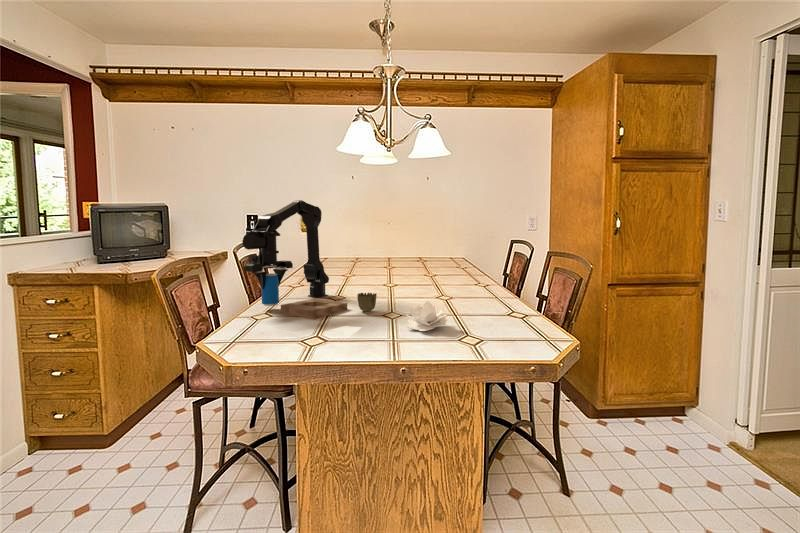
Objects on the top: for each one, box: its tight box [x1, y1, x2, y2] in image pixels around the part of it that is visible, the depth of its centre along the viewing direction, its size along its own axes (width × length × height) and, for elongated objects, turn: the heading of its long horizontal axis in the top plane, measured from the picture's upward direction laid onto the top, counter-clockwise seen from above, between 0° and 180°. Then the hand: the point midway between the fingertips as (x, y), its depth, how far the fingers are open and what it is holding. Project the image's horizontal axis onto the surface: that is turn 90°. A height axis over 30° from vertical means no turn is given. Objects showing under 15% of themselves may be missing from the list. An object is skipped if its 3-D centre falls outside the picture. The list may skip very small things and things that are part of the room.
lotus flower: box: [405, 300, 448, 332], centre depth 149 cm, size 14×15×9 cm
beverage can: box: [260, 273, 280, 307], centre depth 173 cm, size 6×6×12 cm
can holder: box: [280, 297, 348, 321], centre depth 172 cm, size 18×18×4 cm
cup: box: [356, 292, 377, 314], centre depth 169 cm, size 8×7×8 cm
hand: (270, 288), depth 173 cm, fingers closed on beverage can, 6 cm apart
